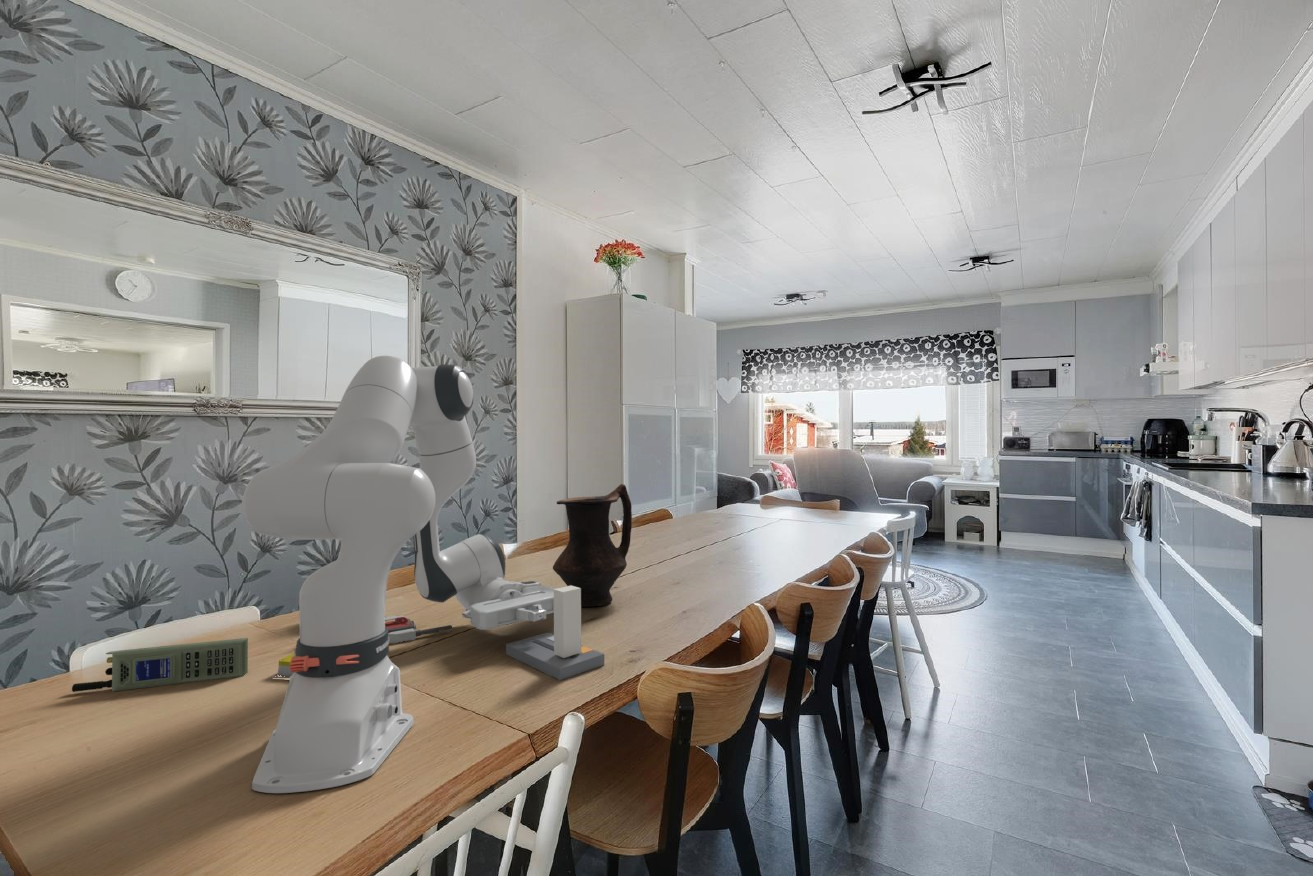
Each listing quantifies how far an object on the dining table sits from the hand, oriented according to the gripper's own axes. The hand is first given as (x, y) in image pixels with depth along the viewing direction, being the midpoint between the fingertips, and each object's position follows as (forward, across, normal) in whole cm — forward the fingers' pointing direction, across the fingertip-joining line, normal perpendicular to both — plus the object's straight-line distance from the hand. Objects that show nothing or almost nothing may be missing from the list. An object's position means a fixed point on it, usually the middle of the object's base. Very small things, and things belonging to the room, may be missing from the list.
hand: (540, 616), depth 120 cm
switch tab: (+9, 0, +5) cm, 10 cm away
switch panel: (+5, 0, +7) cm, 9 cm away
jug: (-21, +30, +8) cm, 37 cm away
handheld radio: (-34, -55, +8) cm, 65 cm away
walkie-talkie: (-30, -16, +8) cm, 35 cm away
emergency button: (-24, -33, +8) cm, 41 cm away
